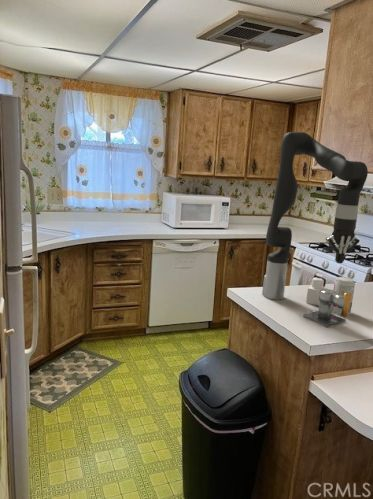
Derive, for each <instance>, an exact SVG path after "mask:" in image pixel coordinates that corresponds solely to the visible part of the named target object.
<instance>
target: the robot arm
mask: <svg viewBox="0 0 373 499" xmlns="http://www.w3.org/2000/svg"><path fill="white" fill-rule="evenodd" d="M280 144H281V145H280V157H279V166H278V174H277V178H276V179H277V180H276V186H275V191H274V198H273V204H272V208H271V209H272V210H271V215H270V218H269V222H268V227H267V230H266V234H265V241H266V245H267V246H268V247H272V248H273V247H274V248H279V249H277V250H275V251H273V252H270V253H269V254H268V255H267V261H266V267H265V268H266V270H265V275H264V276H263V283H262V291H261V292H262V293H261V295H263V296H264V297H265V298H267V299H271V300H282V299H284V295H285V288H286V287H285V286H286V280H287V270H288V261H289V257H290V253H291V252H290V251H291V245H292V239H293V234H292V233H293V232H292V229H291V228H290V227H288V226H279V224H280V222H281V220H282V219H283V216H285V215H286V213H287V212H288V211H289V210H291V207H293V205H294V204H295V202H296V199H297V194H298V188H299V187H298V185H299V184H298V181H297V178H296V176H295V172H294V168H293V166H294V159H295V156H302V155H305V156H310V157H312V158H314V160H315V161H316V163H317V165H319V166H321V168H324V169H326V170H327V171H329V172H331V173H332V174H333V175H334V176H335V177H336V178H338V179H340V180H342V181H344V182H347V185H346V186H345V187H342V188H340V189H339V193H338V198H337V205H336V208H335V212H334V213H335V214H334V222H333V231H332V233H331V235H330V236H329V237H325V241H326V242H327V244H328V246H329V248H330V250H331V251H333V252H334V253H335V257H334V261H335V263H337V264H343V263H344V261H345V256H346V254H347V253H351V251H352V250H353V249H355V247H356V246H357V245H358V244H359V243H360V239H358V238H357V237H356V236H355V235H356V234H355V231H356V226H357V220H358V214H359V202H360V194H361V192H362V191H363V189H364V186H365V183H366V181H367V179H368V174H369V170H368V167H367V166H368V165H366V163H365V162H363V161H355V160H348V159H346V157H345V156H344V155H343V154H341V153H340V152H337V151H335V150H333V149H330V148H328V147H326V146H325V145H324V144H322V143H320V142H319V141H317V139H315V138H313V136H311V135H310V134H309V133H307V132H304V131H289V132H286V133H285V134H284V136H283V137H282V140H281V143H280Z"/></svg>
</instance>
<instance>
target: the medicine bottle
mask: <svg viewBox="0 0 373 499" xmlns="http://www.w3.org/2000/svg"><path fill="white" fill-rule="evenodd" d="M326 281H327V280H326V278H324V277H321V276H313V277H312V278H311V282H310V283H311V284H310V286H309V287H308V288H307V294H306V304H310V305H314V306H318V307H319V306H320V301H319V292H320V289H328V287H326V284H327V283H326Z"/></svg>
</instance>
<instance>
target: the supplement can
mask: <svg viewBox="0 0 373 499" xmlns="http://www.w3.org/2000/svg"><path fill="white" fill-rule="evenodd" d="M355 287H356V283H355V279H353V278H351V277H346V276H337V277H336V279H335V280H334V283H333V289H332V290H333V291H335V292H336V294H339V295H342V296H344V293H351V294H352V295H351V301H350V308H349V314H348V315H350V314H351V312H352V308H353V307H352V306H353V299H354V293H355ZM341 312H342V307H339V306H337V305H334V304H333V306H332V313H334V314H335V315H340V316H341Z"/></svg>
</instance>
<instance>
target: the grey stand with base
mask: <svg viewBox="0 0 373 499" xmlns="http://www.w3.org/2000/svg"><path fill="white" fill-rule="evenodd" d="M332 306H333V304H332V303H331V304H330V303H323V302H321V301H320V306H318V310H316V311H313V312H312V311H311V312H309V313H305V314H304V313H303V314H302V318H304V319H307V320H309V321H311V322H314V323H316V324H318V325H321V326H324V327H325V328H330V327H333V326H337V325H339V324H344V323H346V321H347V318H344V317H341V316H338V315H337V314H333V312H332Z"/></svg>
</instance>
